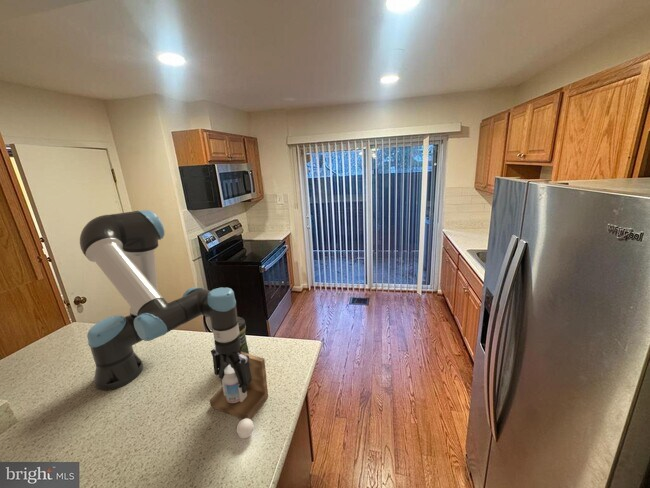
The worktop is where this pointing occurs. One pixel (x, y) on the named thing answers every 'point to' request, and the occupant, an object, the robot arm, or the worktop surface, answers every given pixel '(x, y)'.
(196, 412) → the worktop surface
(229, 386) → the pill bottle
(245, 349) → the coffee jar
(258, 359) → the brown piece
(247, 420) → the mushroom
